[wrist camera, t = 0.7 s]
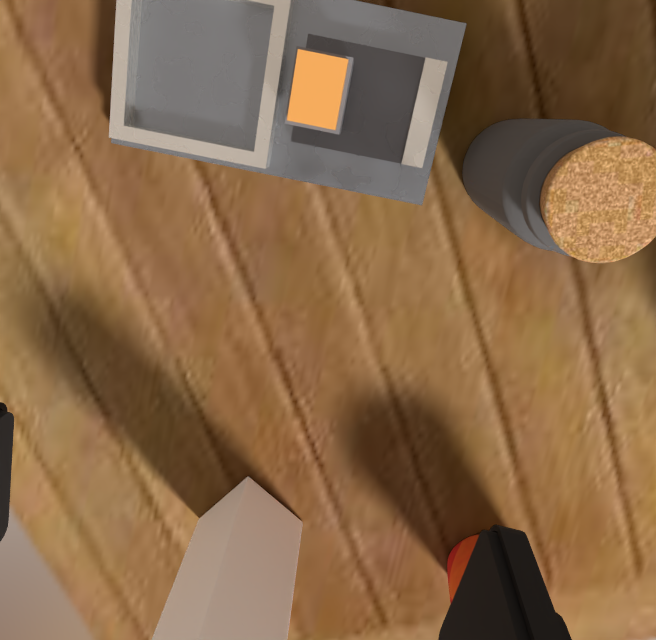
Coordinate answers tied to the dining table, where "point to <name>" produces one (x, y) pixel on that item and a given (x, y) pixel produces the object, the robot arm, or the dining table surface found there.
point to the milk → (236, 572)
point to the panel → (284, 88)
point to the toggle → (319, 90)
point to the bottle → (566, 186)
